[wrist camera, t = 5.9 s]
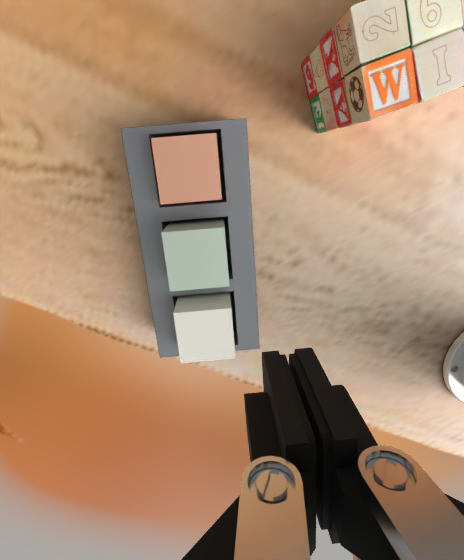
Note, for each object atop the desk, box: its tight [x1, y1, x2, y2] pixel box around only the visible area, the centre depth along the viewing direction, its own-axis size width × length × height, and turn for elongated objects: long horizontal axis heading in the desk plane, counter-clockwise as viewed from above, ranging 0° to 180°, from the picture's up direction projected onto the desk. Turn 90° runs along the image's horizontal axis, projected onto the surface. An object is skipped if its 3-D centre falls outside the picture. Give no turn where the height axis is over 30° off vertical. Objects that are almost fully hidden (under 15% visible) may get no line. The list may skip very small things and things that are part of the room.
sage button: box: [161, 218, 229, 292], centre depth 30 cm, size 5×5×5 cm
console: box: [121, 118, 260, 358], centre depth 33 cm, size 10×21×5 cm, turn 4°
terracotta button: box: [151, 133, 222, 205], centre depth 29 cm, size 5×5×5 cm
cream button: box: [173, 291, 236, 363], centre depth 32 cm, size 5×5×5 cm
